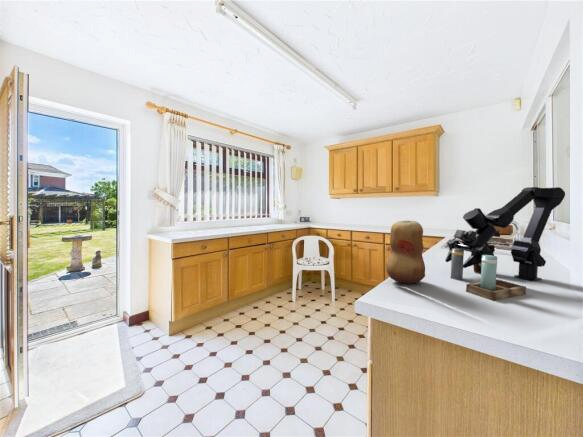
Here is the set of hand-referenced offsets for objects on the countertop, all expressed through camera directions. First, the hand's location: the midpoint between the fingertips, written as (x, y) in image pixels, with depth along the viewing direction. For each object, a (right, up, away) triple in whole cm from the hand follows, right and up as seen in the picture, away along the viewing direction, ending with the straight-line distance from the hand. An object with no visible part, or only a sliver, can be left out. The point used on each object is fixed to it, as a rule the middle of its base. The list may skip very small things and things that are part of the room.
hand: (454, 264), depth 100 cm
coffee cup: (+21, -6, +12) cm, 25 cm away
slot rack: (+4, -8, -15) cm, 18 cm away
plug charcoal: (+1, -7, +1) cm, 7 cm away
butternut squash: (-22, -7, -3) cm, 23 cm away
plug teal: (0, -7, -17) cm, 18 cm away
